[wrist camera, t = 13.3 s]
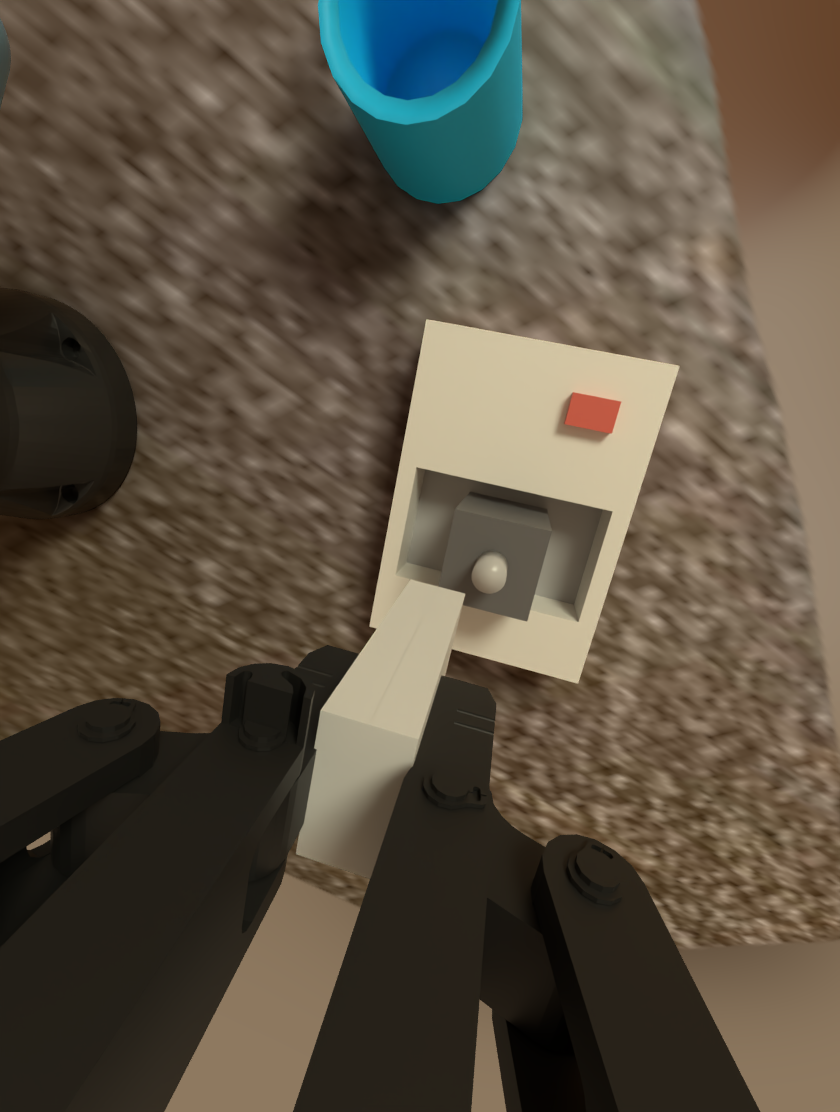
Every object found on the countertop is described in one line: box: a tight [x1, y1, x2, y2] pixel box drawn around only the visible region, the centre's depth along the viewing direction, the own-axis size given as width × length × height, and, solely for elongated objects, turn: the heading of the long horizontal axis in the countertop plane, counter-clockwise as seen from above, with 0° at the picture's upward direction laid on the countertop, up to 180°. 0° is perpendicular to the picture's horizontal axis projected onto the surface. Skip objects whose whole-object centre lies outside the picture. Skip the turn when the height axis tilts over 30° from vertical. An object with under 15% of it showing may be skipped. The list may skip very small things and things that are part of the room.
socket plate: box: [369, 319, 679, 683], centre depth 31 cm, size 13×18×4 cm
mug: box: [318, 0, 522, 204], centre depth 24 cm, size 12×8×8 cm
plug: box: [438, 492, 552, 622], centre depth 28 cm, size 5×5×9 cm
